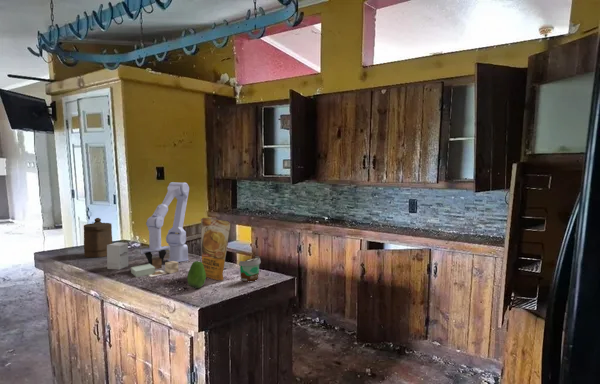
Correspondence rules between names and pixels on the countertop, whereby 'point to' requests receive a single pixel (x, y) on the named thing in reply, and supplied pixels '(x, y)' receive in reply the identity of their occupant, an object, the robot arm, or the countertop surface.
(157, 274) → the card
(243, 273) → the food container
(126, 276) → the countertop surface
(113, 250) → the supplement box
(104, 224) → the wooden container
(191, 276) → the avocado
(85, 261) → the countertop surface
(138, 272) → the plinth
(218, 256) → the pancake mix bag
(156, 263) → the walnut block
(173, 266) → the beech block
